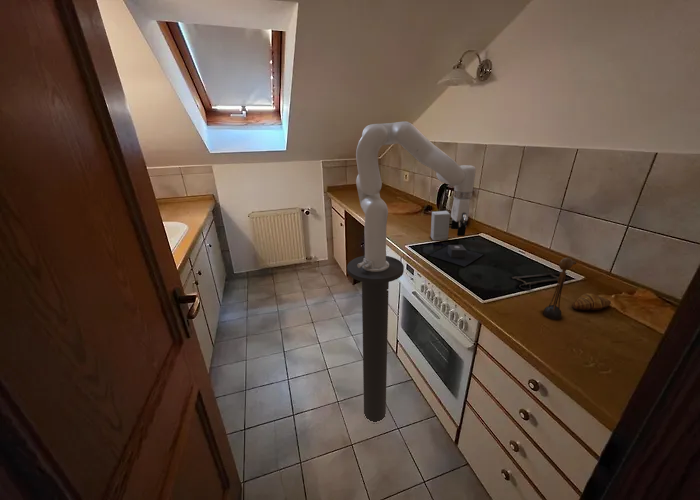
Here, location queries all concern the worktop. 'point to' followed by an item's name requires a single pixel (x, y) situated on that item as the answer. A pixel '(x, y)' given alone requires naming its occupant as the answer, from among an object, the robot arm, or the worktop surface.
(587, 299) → the croissant
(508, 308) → the worktop surface
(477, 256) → the mat
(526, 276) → the hacksaw
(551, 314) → the wooden tabletop sculpture
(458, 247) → the tape measure
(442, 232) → the cosmetic box
